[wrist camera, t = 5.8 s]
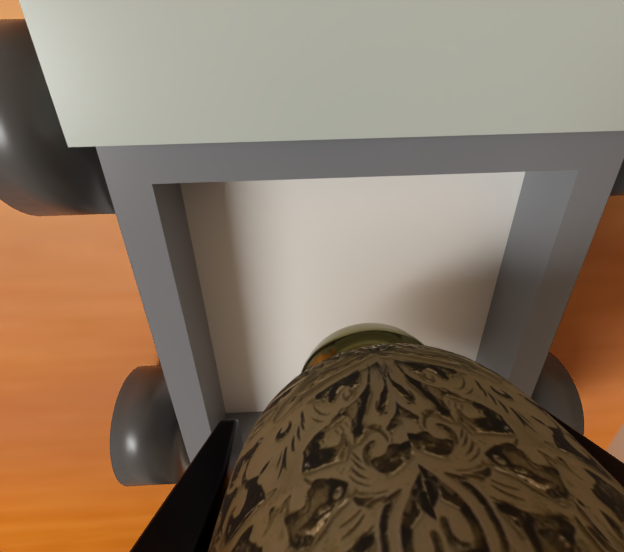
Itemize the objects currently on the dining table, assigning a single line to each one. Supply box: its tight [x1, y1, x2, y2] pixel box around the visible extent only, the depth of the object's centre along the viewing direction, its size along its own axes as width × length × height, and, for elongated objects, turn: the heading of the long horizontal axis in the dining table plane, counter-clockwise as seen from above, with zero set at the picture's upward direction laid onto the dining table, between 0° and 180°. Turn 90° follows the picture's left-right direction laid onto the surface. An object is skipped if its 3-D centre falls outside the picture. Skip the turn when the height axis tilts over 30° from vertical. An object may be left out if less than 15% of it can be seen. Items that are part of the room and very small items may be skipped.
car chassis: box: [0, 0, 624, 486], centre depth 13 cm, size 18×18×6 cm
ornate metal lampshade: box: [208, 323, 624, 552], centre depth 7 cm, size 8×7×8 cm
